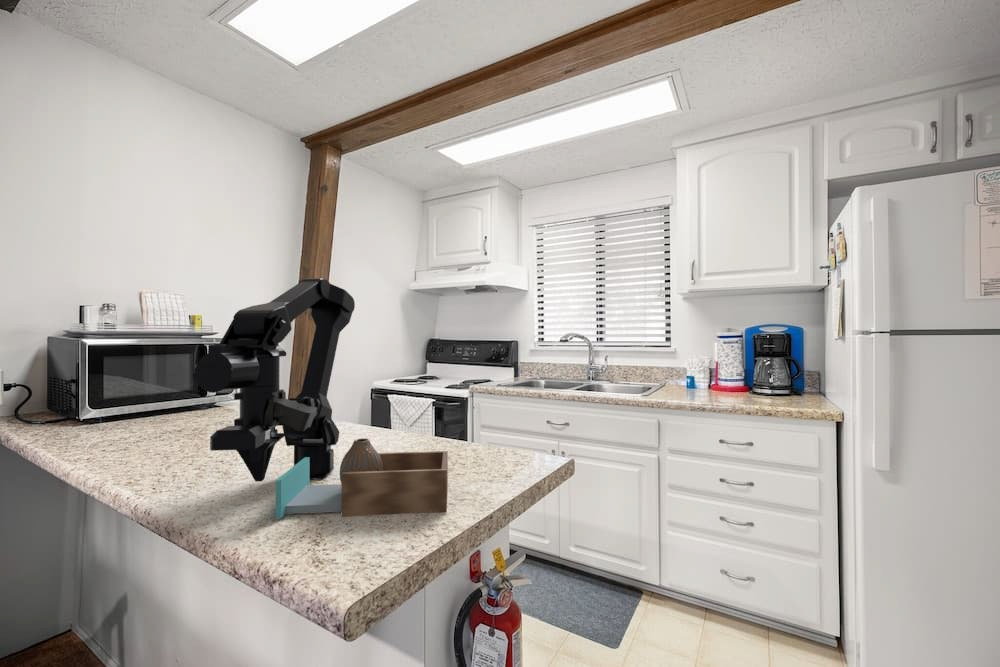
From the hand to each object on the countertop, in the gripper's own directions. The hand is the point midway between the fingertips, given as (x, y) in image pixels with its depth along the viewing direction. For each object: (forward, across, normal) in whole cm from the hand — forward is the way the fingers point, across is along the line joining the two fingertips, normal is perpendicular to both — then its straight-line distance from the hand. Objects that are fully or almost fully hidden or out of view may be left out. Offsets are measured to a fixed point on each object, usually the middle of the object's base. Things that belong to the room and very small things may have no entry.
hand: (259, 480), depth 72 cm
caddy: (+4, 0, -22) cm, 23 cm away
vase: (+3, 0, -16) cm, 17 cm away
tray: (+4, 0, -13) cm, 13 cm away
